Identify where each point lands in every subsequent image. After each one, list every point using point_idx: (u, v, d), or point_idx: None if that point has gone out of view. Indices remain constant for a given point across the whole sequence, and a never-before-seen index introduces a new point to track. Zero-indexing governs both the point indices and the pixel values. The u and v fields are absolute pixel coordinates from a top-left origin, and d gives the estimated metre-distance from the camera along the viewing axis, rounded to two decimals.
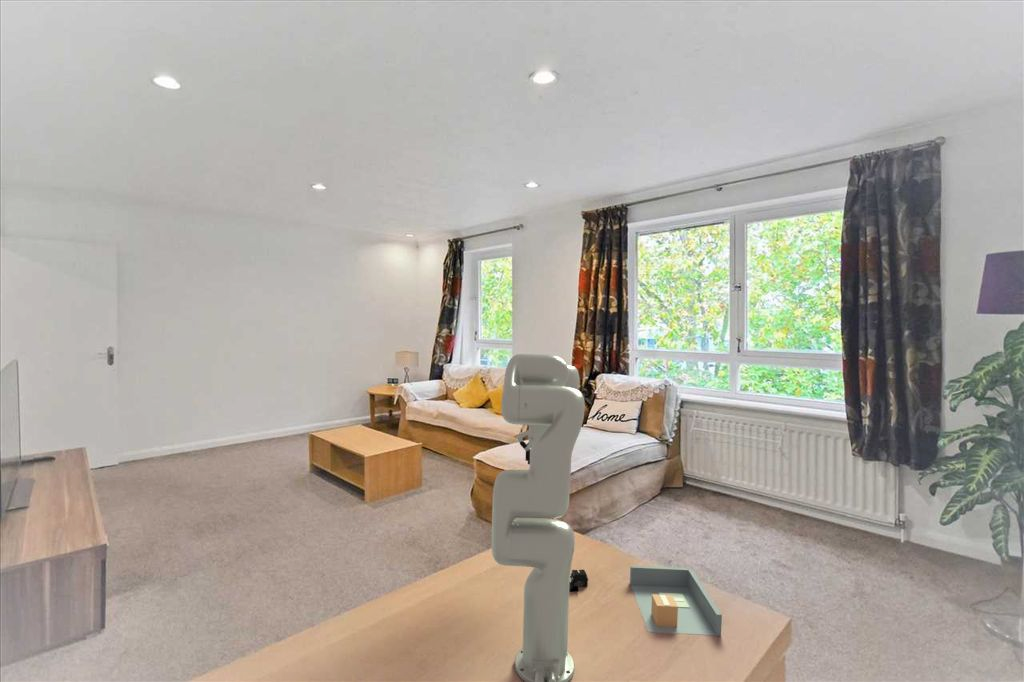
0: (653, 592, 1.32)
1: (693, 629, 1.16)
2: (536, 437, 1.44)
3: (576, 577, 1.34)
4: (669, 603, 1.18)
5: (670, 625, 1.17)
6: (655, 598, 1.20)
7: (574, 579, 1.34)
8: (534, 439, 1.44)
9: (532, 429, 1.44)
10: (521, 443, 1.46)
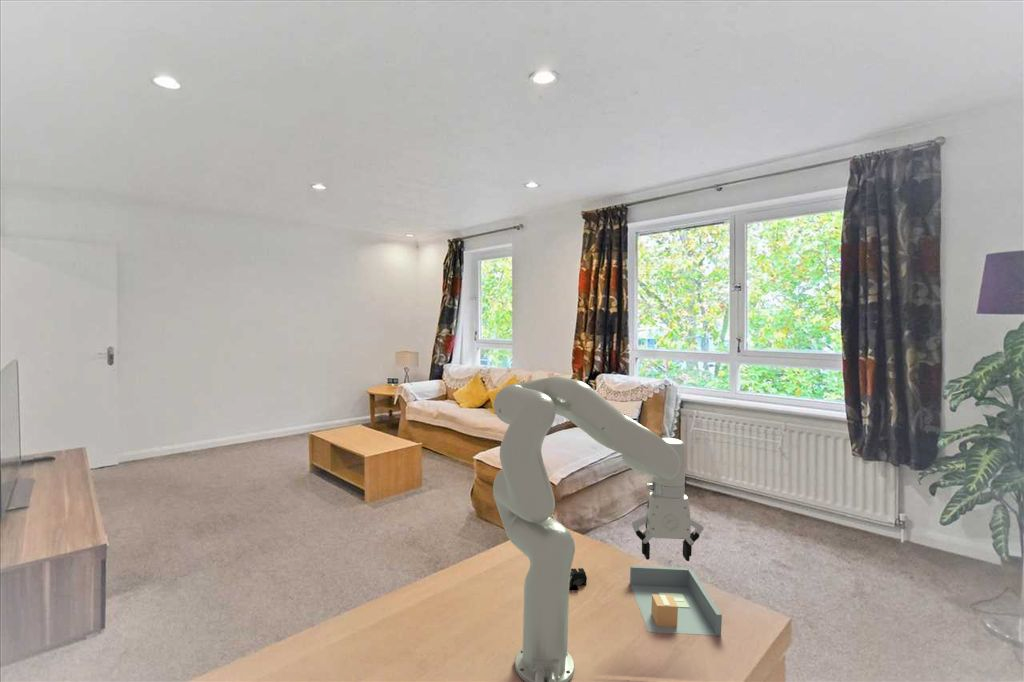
0: (653, 592, 1.32)
1: (693, 629, 1.16)
2: (658, 527, 1.16)
3: (575, 576, 1.35)
4: (669, 603, 1.18)
5: (670, 625, 1.17)
6: (655, 598, 1.20)
7: (573, 578, 1.35)
8: (656, 530, 1.16)
9: (653, 517, 1.17)
10: (638, 533, 1.19)
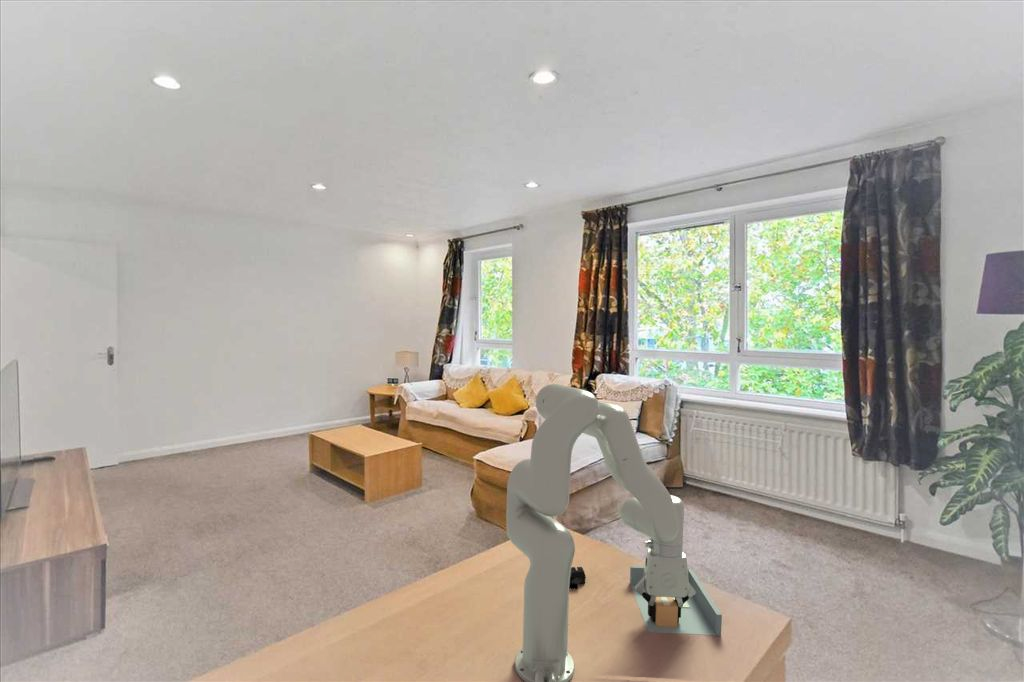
0: None
1: (693, 629, 1.16)
2: (657, 586, 1.17)
3: (574, 574, 1.35)
4: (669, 603, 1.18)
5: (670, 625, 1.17)
6: None
7: (572, 576, 1.35)
8: (654, 588, 1.17)
9: (651, 576, 1.17)
10: (644, 595, 1.19)
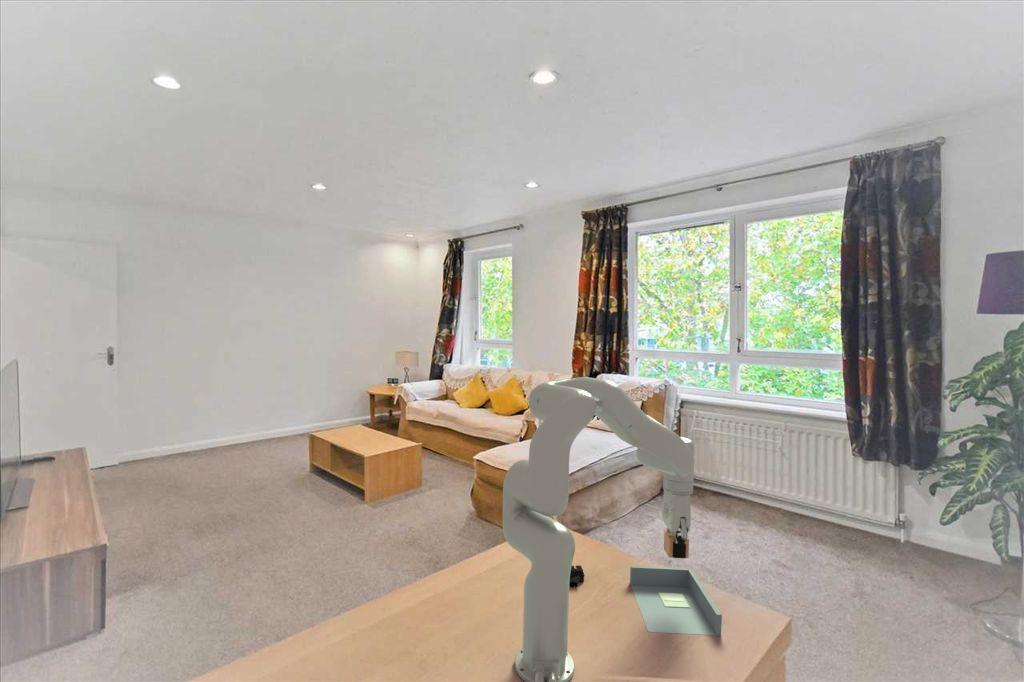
0: (653, 592, 1.32)
1: (693, 629, 1.16)
2: (663, 512, 1.31)
3: (572, 573, 1.36)
4: (672, 535, 1.27)
5: (667, 553, 1.27)
6: None
7: (570, 575, 1.36)
8: (662, 513, 1.31)
9: (663, 502, 1.32)
10: None
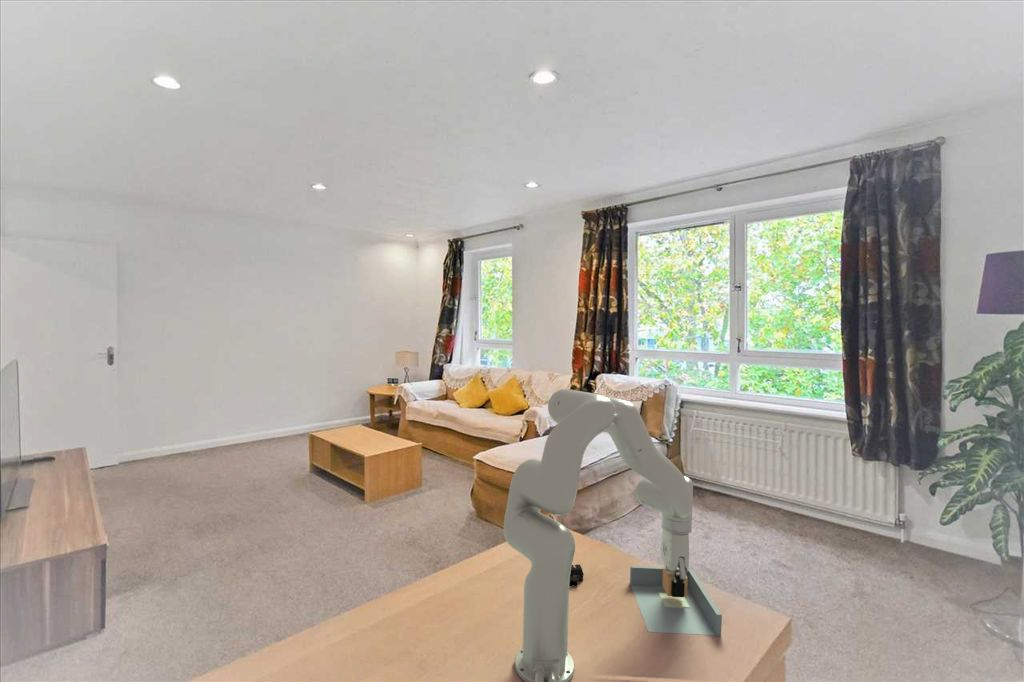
0: (653, 592, 1.32)
1: (693, 629, 1.16)
2: (662, 549, 1.31)
3: (572, 572, 1.37)
4: (670, 573, 1.28)
5: (665, 591, 1.28)
6: None
7: (570, 574, 1.37)
8: (661, 550, 1.32)
9: None
10: None
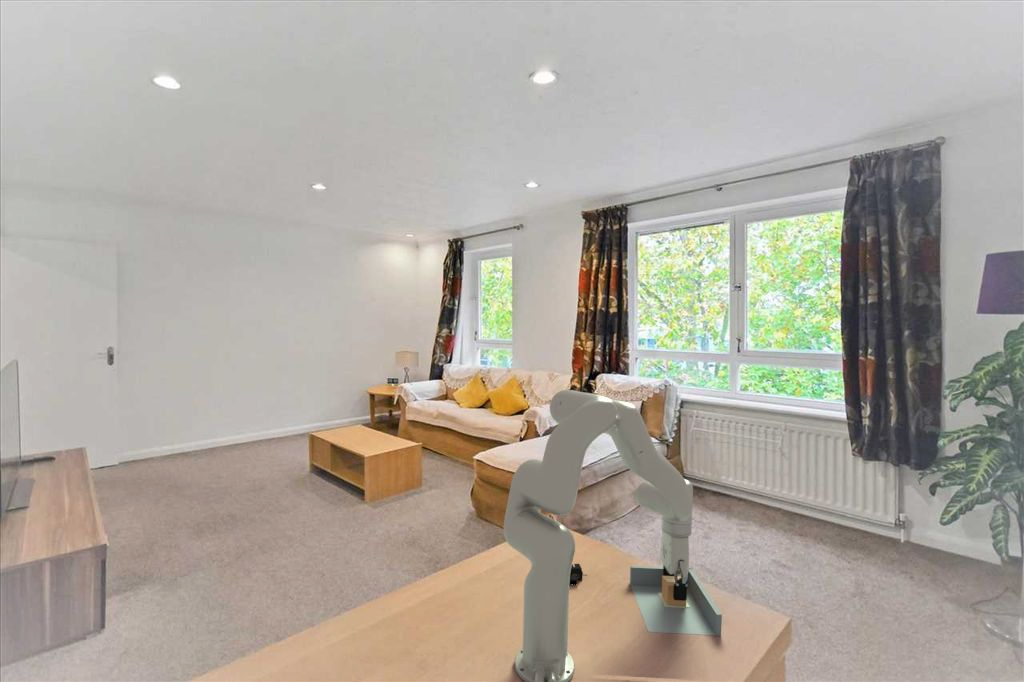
0: (653, 592, 1.32)
1: (693, 629, 1.16)
2: (662, 552, 1.31)
3: (571, 571, 1.37)
4: (670, 582, 1.28)
5: (665, 599, 1.28)
6: None
7: None
8: (661, 553, 1.32)
9: (661, 541, 1.32)
10: None
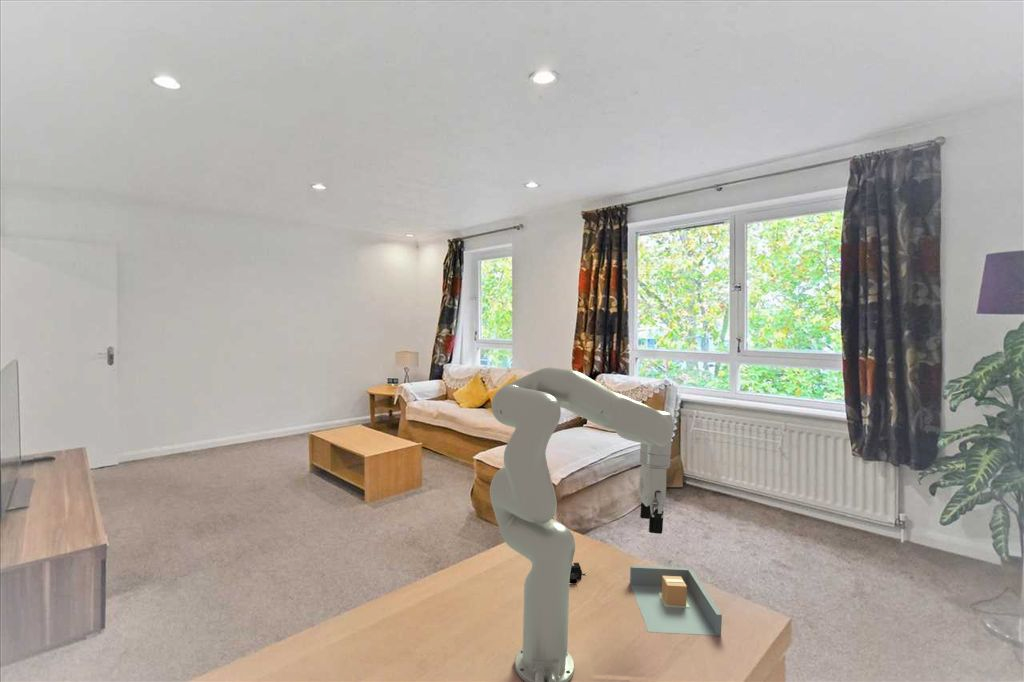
0: (653, 592, 1.32)
1: (693, 629, 1.16)
2: (639, 488, 1.27)
3: None
4: (670, 582, 1.28)
5: (665, 599, 1.28)
6: (674, 577, 1.30)
7: None
8: (639, 489, 1.28)
9: None
10: None
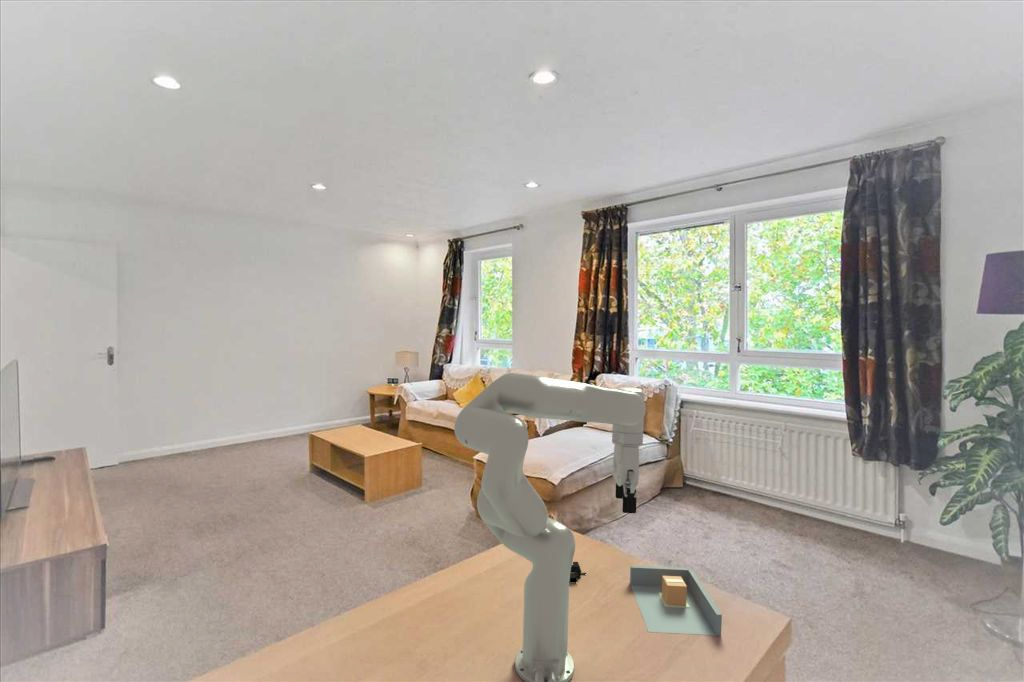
0: (653, 592, 1.32)
1: (693, 629, 1.16)
2: (613, 467, 1.24)
3: None
4: (670, 582, 1.28)
5: (665, 599, 1.28)
6: (674, 577, 1.30)
7: None
8: None
9: (613, 457, 1.25)
10: None
